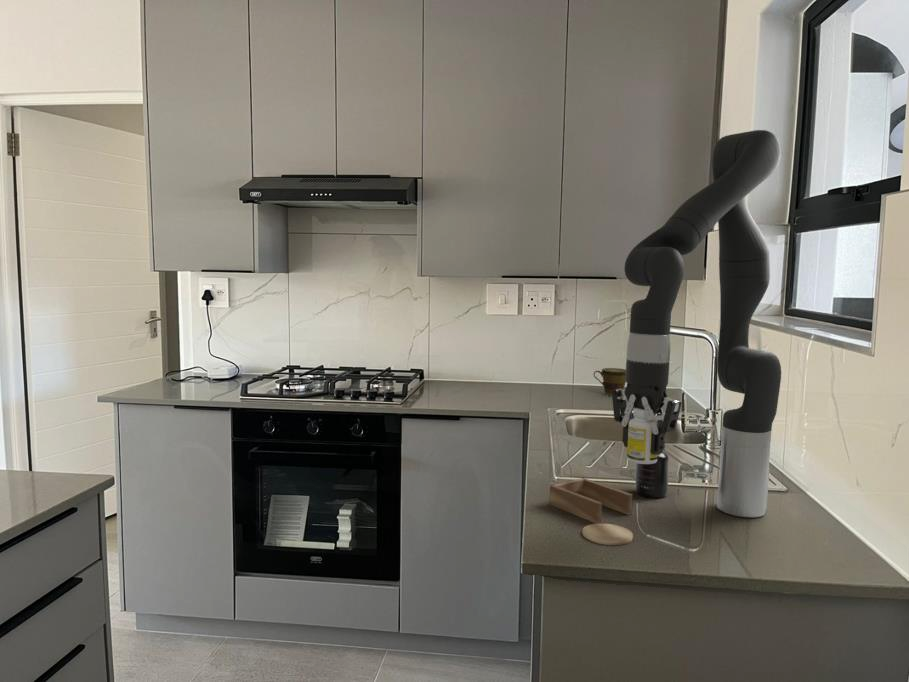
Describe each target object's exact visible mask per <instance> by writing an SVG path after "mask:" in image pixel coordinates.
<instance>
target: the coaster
mask: <svg viewBox="0 0 909 682" xmlns="http://www.w3.org/2000/svg"><path fill="white" fill-rule="evenodd" d="M582 536H583V537H584V538H585V539H587V540H588V541H589V542H591V543H592V542H593V543H595V544H599V545H604V546H623V545H628V544H630V543H631V542H632V541H633V540H634V534H633V532H632V531H631V530H630V529H628V528H626V527H623V526H620V525H617V524H612V523H599V524H596V523H592V524H587V525H585V526H584V527H583V528H582Z"/></svg>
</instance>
